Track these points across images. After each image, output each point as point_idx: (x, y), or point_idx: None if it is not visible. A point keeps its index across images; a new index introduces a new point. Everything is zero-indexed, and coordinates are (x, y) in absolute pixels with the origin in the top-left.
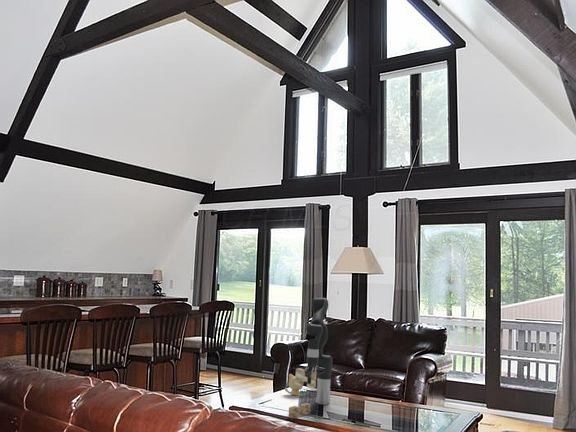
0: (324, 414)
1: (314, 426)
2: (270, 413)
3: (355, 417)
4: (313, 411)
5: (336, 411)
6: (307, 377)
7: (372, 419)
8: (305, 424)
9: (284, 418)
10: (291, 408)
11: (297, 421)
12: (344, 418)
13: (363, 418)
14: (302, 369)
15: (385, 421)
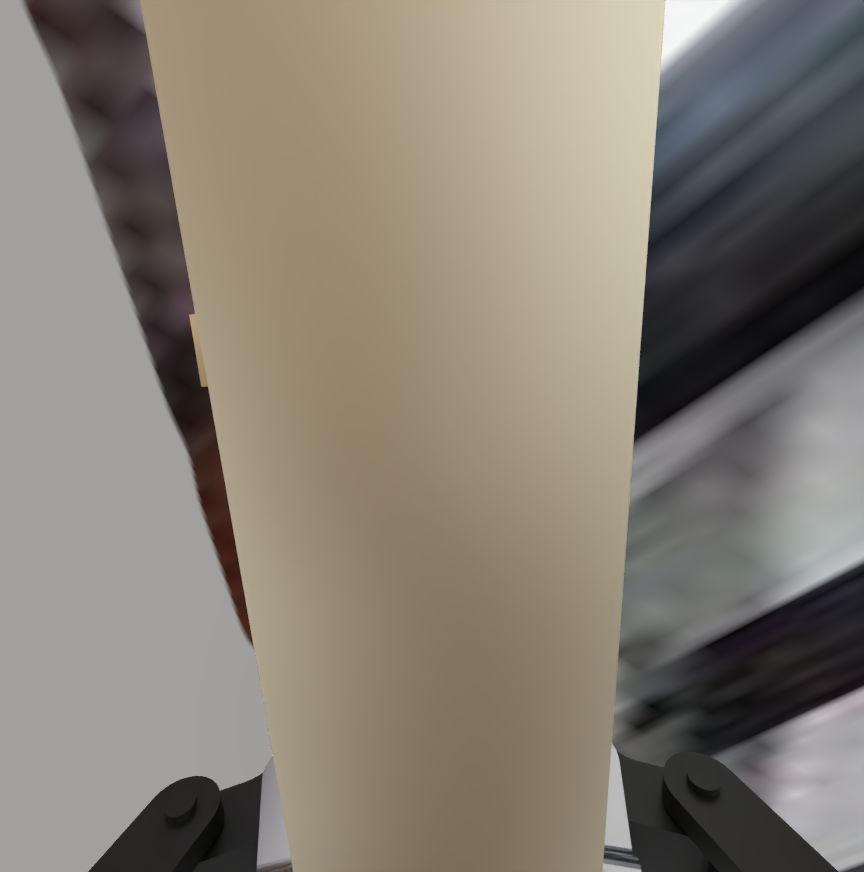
0: (637, 460)
1: (249, 624)
2: (139, 58)
3: (772, 669)
4: (645, 321)
5: (836, 465)
6: (271, 768)
7: (821, 766)
8: (219, 551)
9: (163, 311)
10: (197, 357)
11: (216, 455)
12: (667, 635)
13: (794, 717)
14: (459, 492)
15: (841, 835)
